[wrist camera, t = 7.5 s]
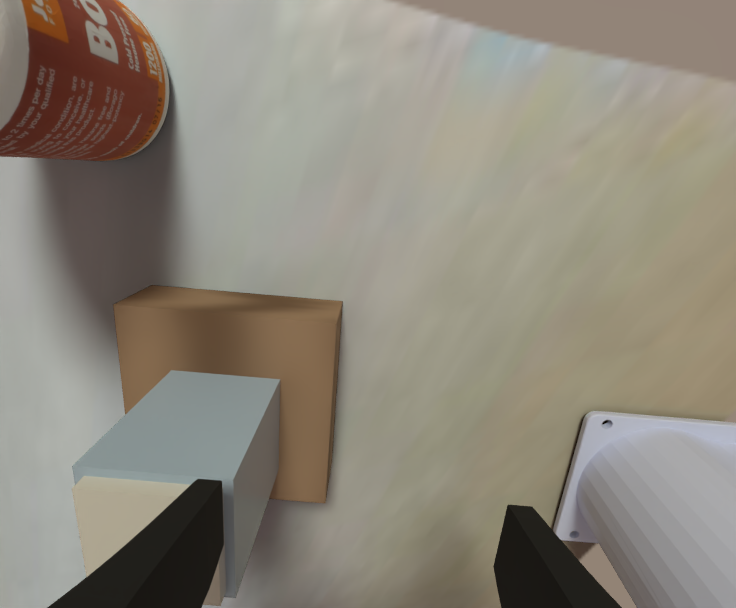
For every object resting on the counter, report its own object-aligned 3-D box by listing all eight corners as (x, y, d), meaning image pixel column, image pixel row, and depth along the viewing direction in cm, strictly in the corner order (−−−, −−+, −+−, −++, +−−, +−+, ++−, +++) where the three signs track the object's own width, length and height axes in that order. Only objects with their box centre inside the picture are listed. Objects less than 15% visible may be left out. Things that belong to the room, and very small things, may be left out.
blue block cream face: (280, 379, 18) (227, 492, 11) (278, 469, 19) (230, 613, 13) (171, 370, 18) (59, 478, 11) (177, 461, 19) (81, 601, 13)
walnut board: (342, 301, 20) (336, 323, 17) (332, 460, 22) (325, 503, 20) (151, 285, 20) (113, 304, 17) (164, 446, 22) (133, 487, 20)
